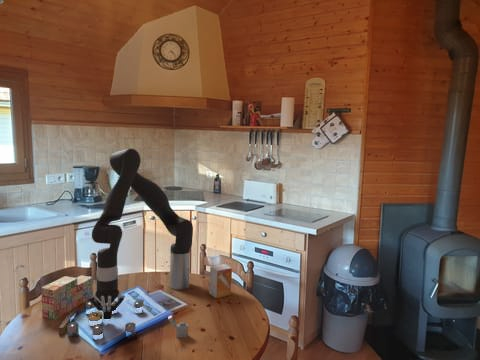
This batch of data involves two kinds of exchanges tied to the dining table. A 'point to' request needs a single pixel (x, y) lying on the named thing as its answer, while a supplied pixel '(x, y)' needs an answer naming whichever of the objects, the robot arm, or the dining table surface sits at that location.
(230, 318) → the dining table surface
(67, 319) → the bar
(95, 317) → the gold short domed cylinder
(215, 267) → the small box
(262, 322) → the dining table surface
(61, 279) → the stack of blocks
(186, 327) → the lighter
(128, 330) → the spacers
